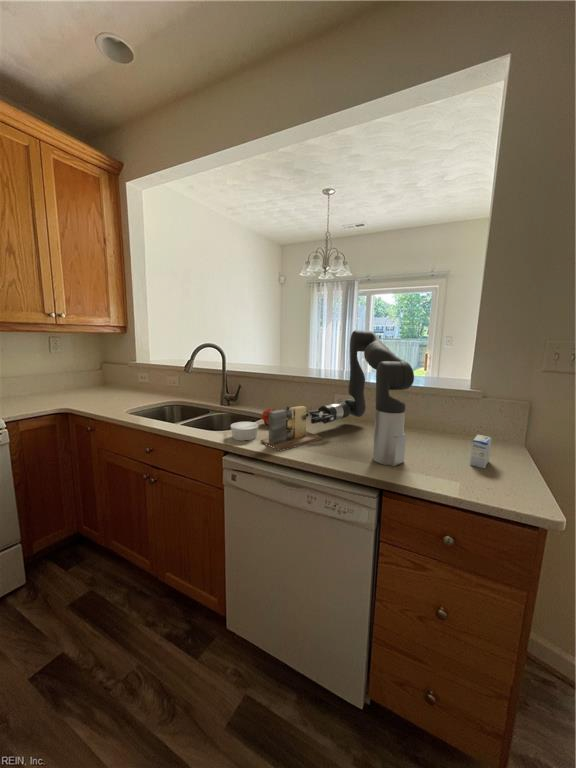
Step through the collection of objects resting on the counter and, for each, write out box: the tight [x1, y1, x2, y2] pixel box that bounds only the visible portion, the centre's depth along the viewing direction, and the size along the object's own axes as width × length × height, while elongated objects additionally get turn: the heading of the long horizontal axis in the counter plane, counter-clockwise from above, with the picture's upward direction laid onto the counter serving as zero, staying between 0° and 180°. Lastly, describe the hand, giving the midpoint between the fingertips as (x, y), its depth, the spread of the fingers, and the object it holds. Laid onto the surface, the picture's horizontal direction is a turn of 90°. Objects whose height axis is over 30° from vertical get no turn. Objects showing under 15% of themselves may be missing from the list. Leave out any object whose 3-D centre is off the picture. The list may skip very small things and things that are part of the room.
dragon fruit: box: [260, 407, 276, 426], centre depth 146 cm, size 8×8×12 cm
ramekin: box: [230, 421, 259, 441], centre depth 128 cm, size 11×11×5 cm
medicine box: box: [469, 434, 492, 469], centre depth 105 cm, size 8×4×9 cm, turn 141°
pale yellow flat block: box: [286, 405, 307, 439], centre depth 125 cm, size 3×10×12 cm, turn 131°
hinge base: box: [260, 405, 323, 451], centre depth 124 cm, size 12×22×14 cm, turn 131°
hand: (304, 418), depth 129 cm, fingers open, 8 cm apart
